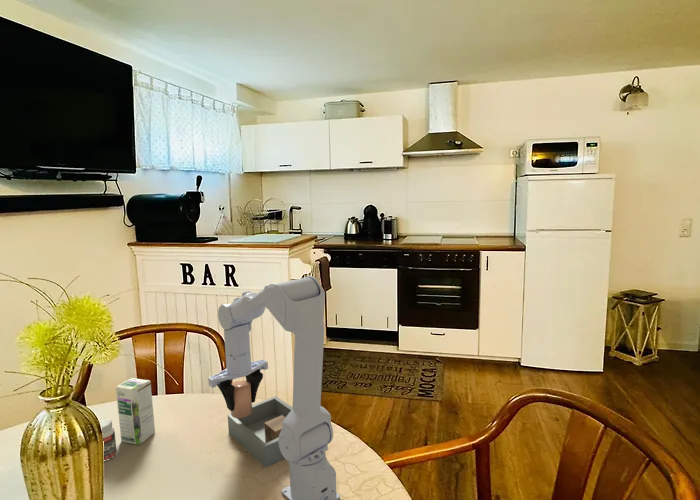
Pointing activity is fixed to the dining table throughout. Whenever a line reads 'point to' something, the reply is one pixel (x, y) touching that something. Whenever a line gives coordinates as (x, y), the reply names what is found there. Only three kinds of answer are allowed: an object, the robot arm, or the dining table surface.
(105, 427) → the pill bottle
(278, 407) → the box
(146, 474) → the dining table surface
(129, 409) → the syrup box
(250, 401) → the terracotta cylinder
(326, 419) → the robot arm
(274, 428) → the walnut cube
